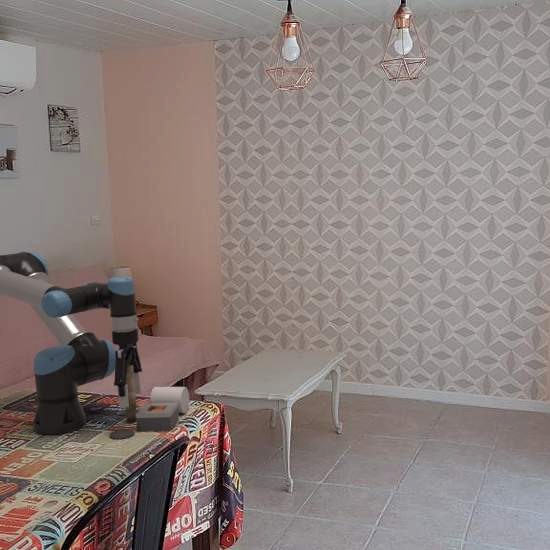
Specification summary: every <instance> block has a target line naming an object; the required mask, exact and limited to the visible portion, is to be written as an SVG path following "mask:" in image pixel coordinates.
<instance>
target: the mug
mask: <svg viewBox="0 0 550 550" xmlns="http://www.w3.org/2000/svg"><path fill="white" fill-rule="evenodd" d="M149 399H150V400H149V403H178V414H186V413H187V412H188V411H189V410H188V409H189V405H190V392H189V390H188V387H186V386H154V387H153V388H152V390H151V393H150V398H149Z"/></svg>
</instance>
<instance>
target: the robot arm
mask: <svg viewBox="0 0 550 550" xmlns="http://www.w3.org/2000/svg"><path fill="white" fill-rule="evenodd" d="M47 266H48V264H47V262H46V260H45V258H43V256H41V254H39V253H37V252H34V251H20V252H16V253H11V254H10V253H9V254H1V255H0V296H2V295H3V296H6V297H8V298H11V299H14V300H17V301H20V302H24V303H26V304H29V305H30V307H31V308H32V310H33V311H34V312H35V313H36V315H37V316H38V318H39V319H40V320H41V321H42V323H43V324H44V325H45V327H46V328H47V329H48V331H49V332H50V333H51V335H52V336H53V337H54V338H55V340H56V341H57V342H58V344H59V345H57V346H51V347H47V348H45V349H43V350H41V351H39V352H37V353H36V354H35V356H34V357H33V373H34V379H35V380H34V381H35V390H36V399H37V405H36V411H35V415H34V418H33V422H32V424H33V425H32V427H33V431H34V433H36V434H39V435H50V436H51V435H60V434H67V433H71V432H74V431H75V432H76V431H78V430H81V429H82V428H83V427H85V426H86V425H87V416H86V413H85V411H84V409H83V406H82V403H81V401H80V399H79V394H78V392H79V391H78V387H80V386H83V385H87V384H89V383H90V384H91V383H93V382H96V381H102V380H104V379H105V378H107V377H110V376H112V374H114V382H113V386H114V387H116V388H117V398H118V408H125V407H129V401H128V388H127V384H126V378H127V371H128V365H133V370H134V383H135V395H141V394H142V387H141V377H140V376H141V375H140V373H142V372H143V368H142V363H141V360H140V355H139V350H138V345H137V342H139V330H138V329H137V328H138V321H139V320H140V319H139V317H137V305H136V289H135V282H134V279H133V278H132V277H131V276H115V277H110V278H108V280H107V283H106V282H105V283H104V282H94V281H93V282H86V283H84V284H83V285H80V286H73V287H69V288H64V287H60V286H58V285H55V284H51V283H48V282H49V268H47ZM98 309H108V310H109V313H110V327H111V330H112V332H111V337H112V341H110V340H108V339H101V340H100V339H99V338H98V337H97V336H96V334H95V333H94V332H92V331H86V330H85V329H84V327H83V326H82V325H81V324H80V322H79V321H78V320H77V318H76V317H75V316H74V315H75V314H79V313H84V312H88V311H93V310H98ZM114 345H116V346H117V345H118V350H116V348H115V346H114Z"/></svg>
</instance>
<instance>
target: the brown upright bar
mask: <svg viewBox="0 0 550 550" xmlns="http://www.w3.org/2000/svg"><path fill="white" fill-rule="evenodd" d="M126 384H127V388H128V401H129V407H124V408H125V416H126V423H127V424H136V413H137V412H138V410H137V409H138V408H137V400H136V399H137V398H136V395H137V394H135V383H134V370H133V365H128V371H127V378H126Z"/></svg>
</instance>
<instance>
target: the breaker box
mask: <svg viewBox="0 0 550 550" xmlns="http://www.w3.org/2000/svg"><path fill="white" fill-rule="evenodd" d="M153 409H164V410H163V411H151V410H153ZM179 420H180V419H179V413H178V403H150V402H149V403H144V404H143V405H142V406H141V407H140V408H139V410H137V413H136V422H135V425H136V432H171V431H172V430H173V429H174V427H175V426H176V425H177V423H178V421H179Z"/></svg>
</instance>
